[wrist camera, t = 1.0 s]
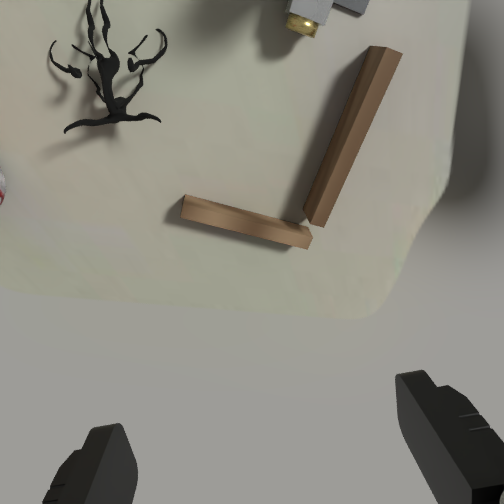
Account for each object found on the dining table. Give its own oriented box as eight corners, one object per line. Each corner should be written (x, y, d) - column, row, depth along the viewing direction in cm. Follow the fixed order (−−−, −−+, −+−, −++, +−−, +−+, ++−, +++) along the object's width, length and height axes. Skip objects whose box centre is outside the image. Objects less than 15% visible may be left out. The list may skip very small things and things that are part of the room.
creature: (45, 11, 26) (75, 135, 28) (-1, -19, 21) (40, 136, 23) (162, -1, 26) (181, 123, 28) (145, -34, 21) (171, 121, 23)
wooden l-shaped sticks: (182, 207, 32) (179, 222, 29) (236, -8, 25) (238, -12, 22) (304, 238, 35) (311, 255, 32) (385, 51, 27) (402, 53, 25)
